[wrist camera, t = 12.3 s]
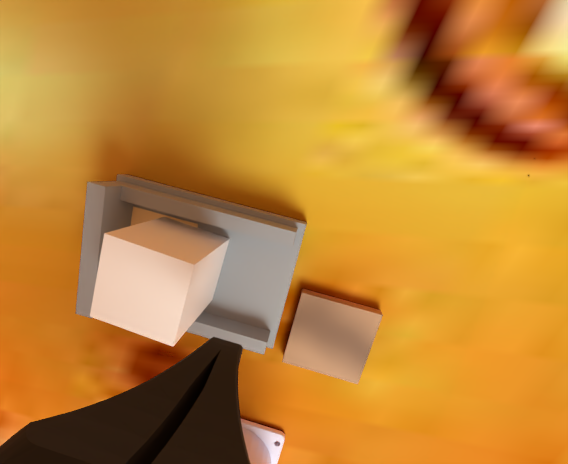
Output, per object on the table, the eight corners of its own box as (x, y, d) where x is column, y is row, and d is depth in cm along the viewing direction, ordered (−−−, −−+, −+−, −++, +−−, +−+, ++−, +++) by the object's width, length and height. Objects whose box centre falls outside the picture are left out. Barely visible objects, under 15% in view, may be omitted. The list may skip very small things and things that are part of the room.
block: (229, 238, 20) (194, 264, 14) (212, 299, 21) (173, 346, 15) (164, 216, 20) (104, 233, 15) (151, 277, 22) (89, 316, 16)
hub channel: (274, 341, 23) (265, 376, 19) (111, 293, 23) (71, 317, 19) (306, 222, 20) (304, 233, 16) (126, 174, 21) (83, 174, 17)
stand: (356, 376, 22) (357, 384, 22) (283, 355, 23) (282, 361, 22) (380, 310, 21) (382, 315, 20) (302, 288, 21) (301, 292, 21)
